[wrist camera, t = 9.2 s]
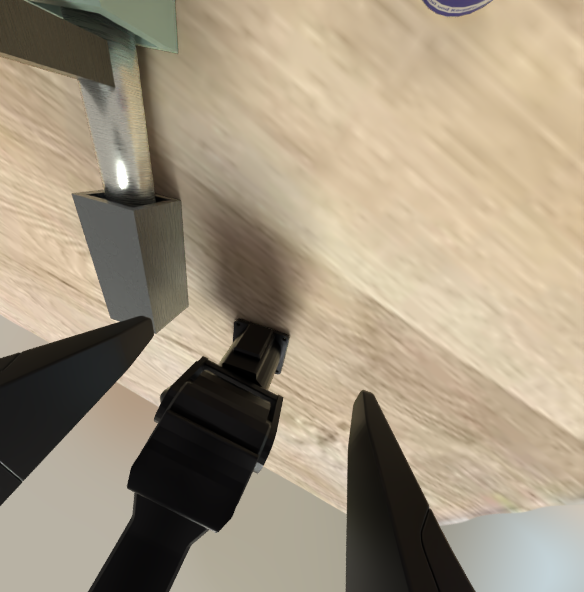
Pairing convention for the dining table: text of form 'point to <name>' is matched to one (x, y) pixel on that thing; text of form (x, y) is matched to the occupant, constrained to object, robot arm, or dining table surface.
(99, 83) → the tube
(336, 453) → the dining table surface
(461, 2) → the energy drink
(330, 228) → the dining table surface
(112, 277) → the sleeve
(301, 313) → the dining table surface
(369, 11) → the dining table surface
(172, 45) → the socket block
